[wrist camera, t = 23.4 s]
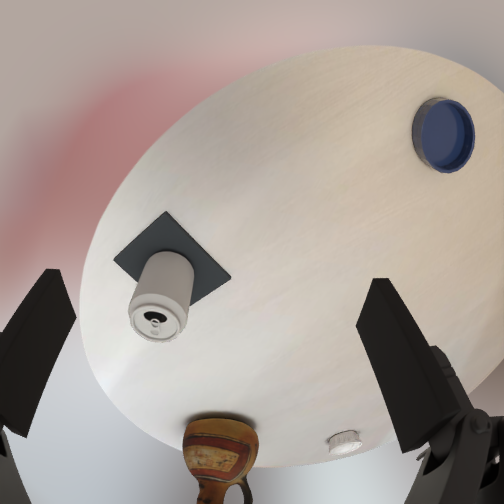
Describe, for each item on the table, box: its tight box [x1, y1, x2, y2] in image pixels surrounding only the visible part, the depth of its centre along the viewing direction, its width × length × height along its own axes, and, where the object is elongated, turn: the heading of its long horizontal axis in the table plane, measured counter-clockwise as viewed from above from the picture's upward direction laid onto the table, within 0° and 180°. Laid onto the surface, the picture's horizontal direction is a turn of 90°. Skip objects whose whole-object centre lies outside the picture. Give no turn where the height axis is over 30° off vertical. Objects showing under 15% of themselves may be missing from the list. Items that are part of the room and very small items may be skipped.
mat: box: [114, 211, 231, 306], centre depth 44 cm, size 14×12×1 cm
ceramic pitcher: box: [183, 419, 259, 504], centre depth 58 cm, size 20×20×30 cm
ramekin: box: [329, 431, 362, 455], centre depth 80 cm, size 11×11×5 cm
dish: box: [412, 98, 475, 173], centre depth 34 cm, size 11×11×2 cm
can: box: [128, 252, 194, 343], centre depth 38 cm, size 8×8×12 cm
